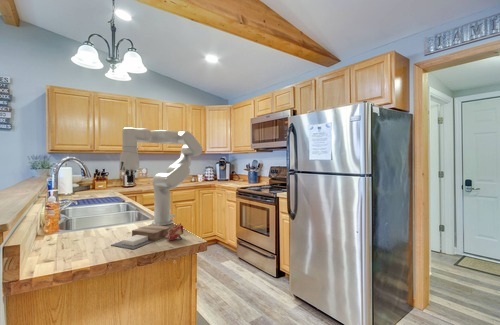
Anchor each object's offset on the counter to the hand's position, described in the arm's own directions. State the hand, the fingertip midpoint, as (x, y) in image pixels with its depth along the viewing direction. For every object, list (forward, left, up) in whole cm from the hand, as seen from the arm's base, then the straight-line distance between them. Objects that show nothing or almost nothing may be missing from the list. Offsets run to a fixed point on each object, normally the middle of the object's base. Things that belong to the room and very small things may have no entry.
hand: (130, 182), depth 144 cm
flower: (+4, +34, -27) cm, 44 cm away
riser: (+4, +19, -27) cm, 33 cm away
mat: (+16, +19, -27) cm, 37 cm away
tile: (+15, +19, -27) cm, 36 cm away
